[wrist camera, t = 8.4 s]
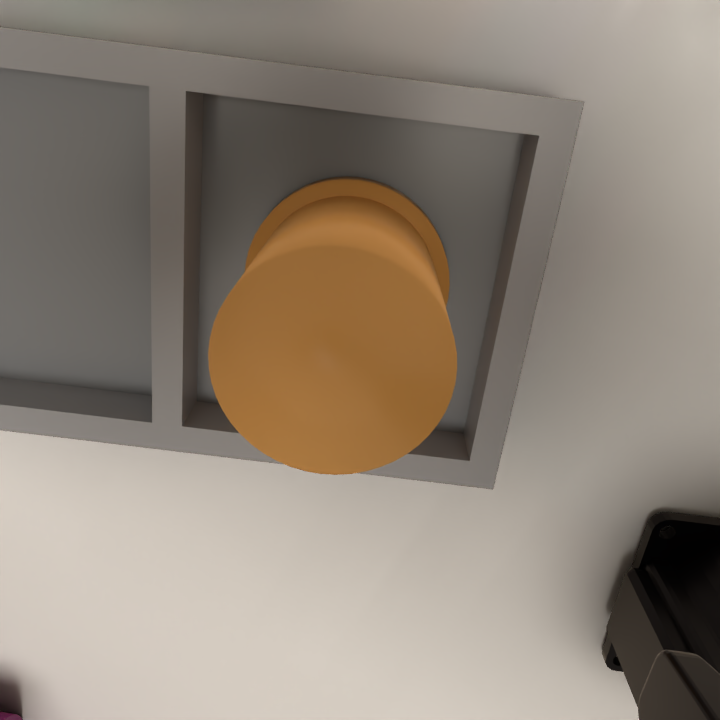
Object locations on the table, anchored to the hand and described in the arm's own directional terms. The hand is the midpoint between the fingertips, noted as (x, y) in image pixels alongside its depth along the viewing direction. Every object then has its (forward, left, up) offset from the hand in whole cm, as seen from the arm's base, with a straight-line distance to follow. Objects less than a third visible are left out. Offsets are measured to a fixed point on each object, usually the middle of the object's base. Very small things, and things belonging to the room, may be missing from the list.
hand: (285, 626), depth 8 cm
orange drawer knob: (0, -1, -11) cm, 11 cm away
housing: (+4, -1, -12) cm, 13 cm away
